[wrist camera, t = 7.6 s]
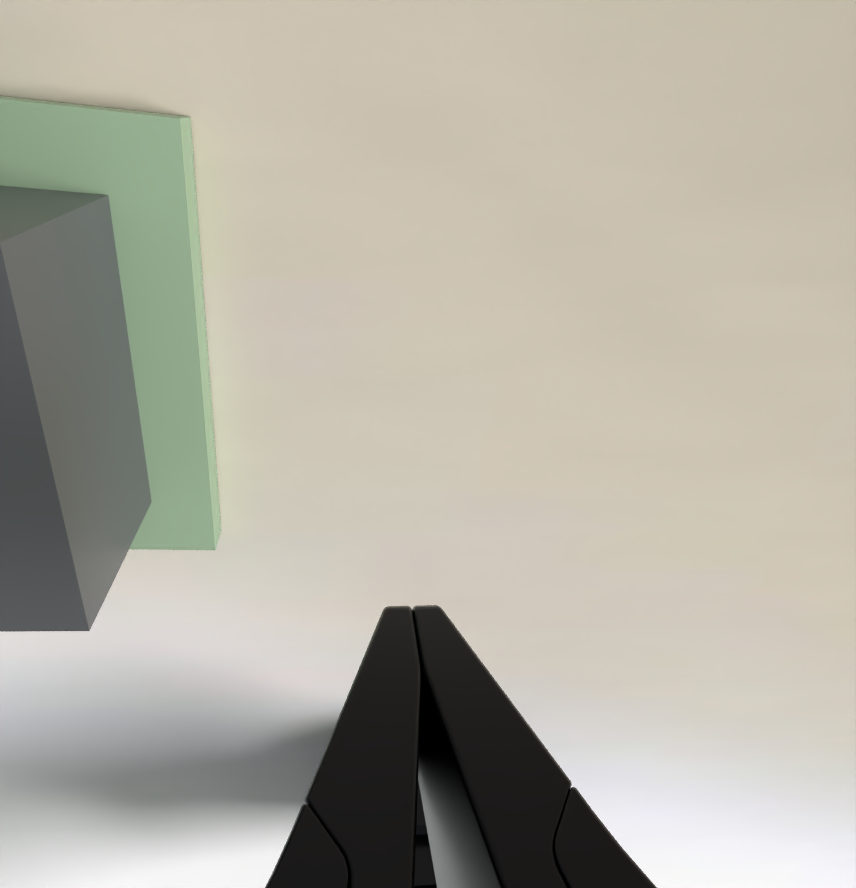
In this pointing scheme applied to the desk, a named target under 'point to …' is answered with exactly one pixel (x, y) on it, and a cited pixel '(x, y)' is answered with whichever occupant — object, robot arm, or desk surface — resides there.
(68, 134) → the board
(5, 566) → the grey c-shaped bracket
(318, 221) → the desk surface
